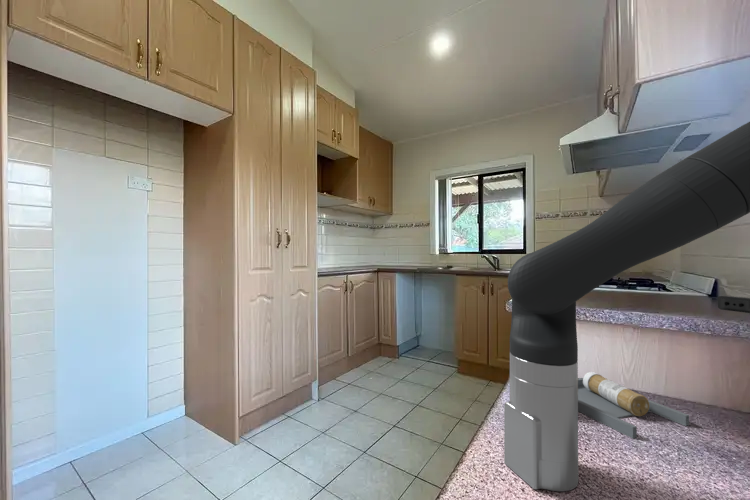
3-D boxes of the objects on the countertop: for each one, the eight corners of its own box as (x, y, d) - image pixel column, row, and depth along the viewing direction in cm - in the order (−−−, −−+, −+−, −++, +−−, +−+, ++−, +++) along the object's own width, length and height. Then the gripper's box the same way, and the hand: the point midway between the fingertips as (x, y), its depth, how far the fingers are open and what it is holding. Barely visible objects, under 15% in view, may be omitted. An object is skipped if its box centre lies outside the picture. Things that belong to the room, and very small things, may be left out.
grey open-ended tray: (632, 438, 57) (632, 427, 57) (539, 391, 77) (539, 383, 77) (689, 425, 62) (689, 415, 62) (587, 384, 82) (587, 376, 82)
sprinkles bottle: (654, 408, 65) (602, 382, 78) (642, 390, 65) (592, 367, 78) (637, 422, 64) (588, 393, 78) (625, 403, 64) (578, 378, 78)
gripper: (953, 290, 37) (743, 279, 54) (905, 291, 33) (694, 279, 49) (954, 354, 37) (743, 323, 53) (907, 363, 33) (694, 327, 49)
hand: (720, 302), depth 51 cm, fingers closed
